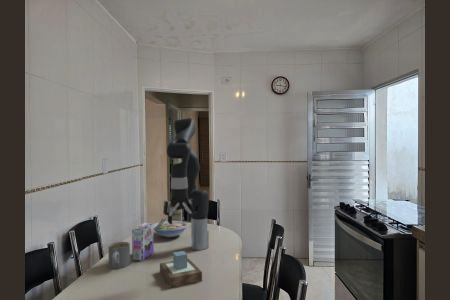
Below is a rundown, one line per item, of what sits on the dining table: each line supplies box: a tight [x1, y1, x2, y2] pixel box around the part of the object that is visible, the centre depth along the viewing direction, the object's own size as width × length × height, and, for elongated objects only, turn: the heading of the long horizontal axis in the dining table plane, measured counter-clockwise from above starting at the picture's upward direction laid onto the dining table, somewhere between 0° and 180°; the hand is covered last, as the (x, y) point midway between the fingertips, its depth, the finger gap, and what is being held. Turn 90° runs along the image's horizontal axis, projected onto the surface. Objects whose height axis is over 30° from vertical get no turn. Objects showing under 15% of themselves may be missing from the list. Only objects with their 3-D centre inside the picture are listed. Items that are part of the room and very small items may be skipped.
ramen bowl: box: [153, 218, 188, 239], centre depth 201 cm, size 25×23×8 cm
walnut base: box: [159, 258, 203, 288], centre depth 138 cm, size 14×18×4 cm
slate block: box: [172, 250, 188, 270], centre depth 138 cm, size 5×5×6 cm
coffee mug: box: [108, 241, 131, 270], centre depth 150 cm, size 13×10×10 cm
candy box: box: [131, 222, 155, 262], centre depth 164 cm, size 14×6×16 cm, turn 168°
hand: (179, 222), depth 139 cm, fingers open, 8 cm apart
